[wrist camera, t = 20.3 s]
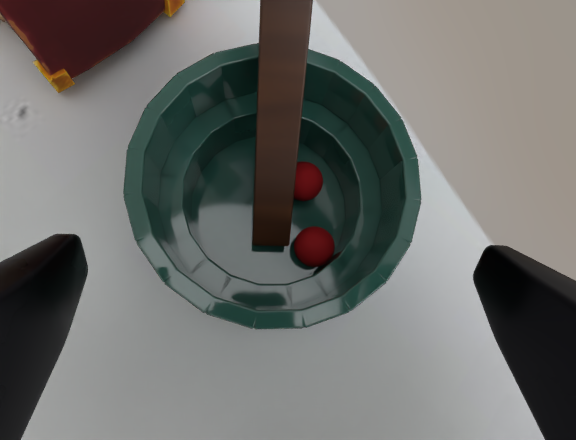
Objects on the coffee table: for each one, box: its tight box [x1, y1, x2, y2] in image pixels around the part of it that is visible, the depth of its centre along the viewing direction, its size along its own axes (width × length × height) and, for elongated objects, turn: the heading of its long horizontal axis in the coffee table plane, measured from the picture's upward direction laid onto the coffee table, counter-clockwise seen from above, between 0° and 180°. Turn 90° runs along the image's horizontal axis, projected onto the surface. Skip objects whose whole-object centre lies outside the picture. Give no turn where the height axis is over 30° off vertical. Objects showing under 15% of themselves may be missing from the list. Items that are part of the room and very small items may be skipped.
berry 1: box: [294, 162, 323, 201], centre depth 17 cm, size 2×2×2 cm
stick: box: [252, 0, 313, 246], centre depth 14 cm, size 2×2×12 cm
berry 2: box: [294, 226, 335, 267], centre depth 16 cm, size 2×2×2 cm
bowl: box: [123, 43, 421, 329], centre depth 15 cm, size 10×10×6 cm
